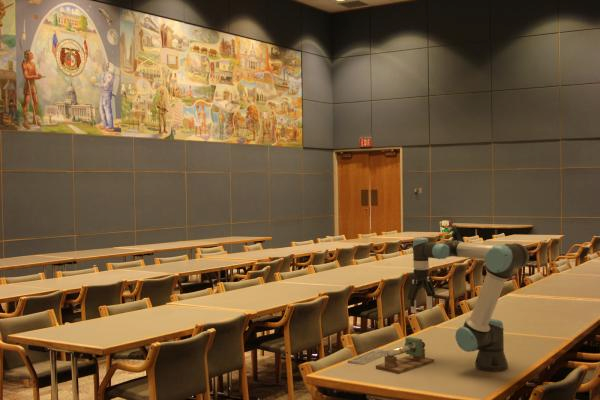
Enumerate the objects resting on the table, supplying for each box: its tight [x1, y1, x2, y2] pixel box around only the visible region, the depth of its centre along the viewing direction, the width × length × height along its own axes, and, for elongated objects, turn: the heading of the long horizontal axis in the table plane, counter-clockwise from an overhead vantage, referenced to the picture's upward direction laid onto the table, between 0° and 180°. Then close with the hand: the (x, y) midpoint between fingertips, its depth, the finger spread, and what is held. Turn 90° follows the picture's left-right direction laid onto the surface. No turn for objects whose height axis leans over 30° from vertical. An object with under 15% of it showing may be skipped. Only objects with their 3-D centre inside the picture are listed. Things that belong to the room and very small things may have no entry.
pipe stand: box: [375, 347, 435, 375], centre depth 338 cm, size 28×14×6 cm, turn 133°
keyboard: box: [347, 348, 388, 366], centre depth 355 cm, size 29×10×2 cm, turn 145°
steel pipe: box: [386, 343, 423, 357], centre depth 338 cm, size 24×3×3 cm, turn 133°
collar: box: [405, 336, 423, 356], centre depth 342 cm, size 3×8×8 cm, turn 43°
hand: (421, 311), depth 346 cm, fingers open, 13 cm apart
